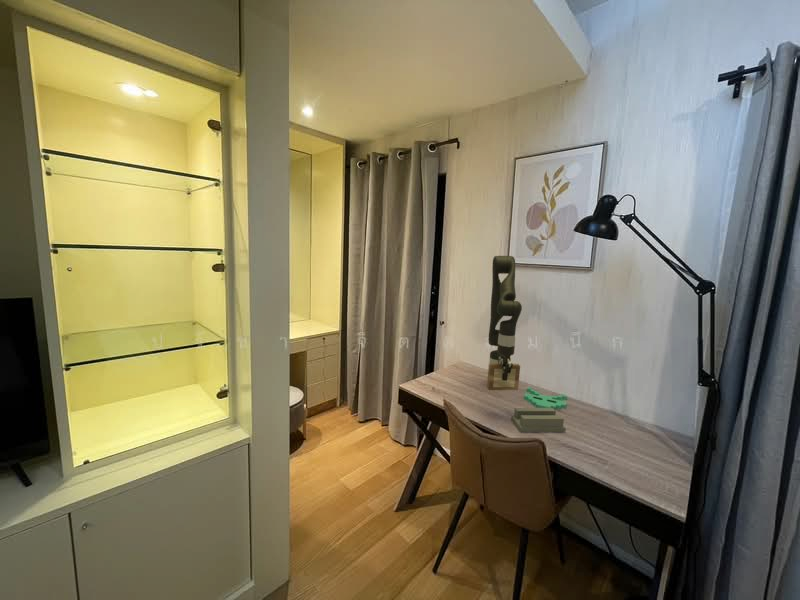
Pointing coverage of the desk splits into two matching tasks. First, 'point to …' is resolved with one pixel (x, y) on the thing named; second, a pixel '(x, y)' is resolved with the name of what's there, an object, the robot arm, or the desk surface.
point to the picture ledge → (537, 420)
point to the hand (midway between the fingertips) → (503, 378)
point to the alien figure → (545, 400)
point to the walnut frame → (496, 378)
